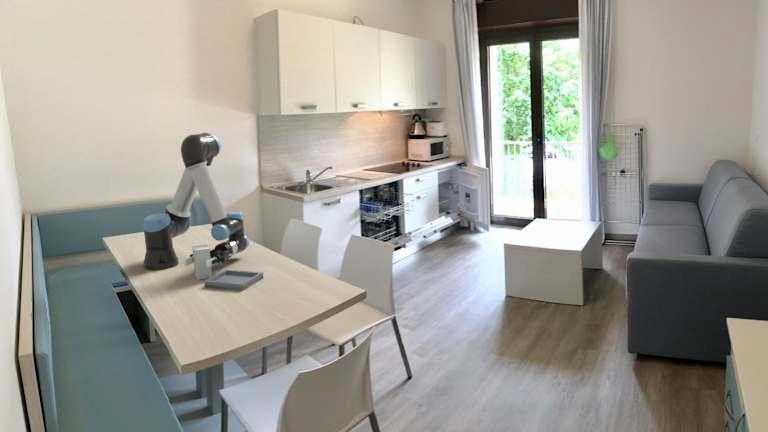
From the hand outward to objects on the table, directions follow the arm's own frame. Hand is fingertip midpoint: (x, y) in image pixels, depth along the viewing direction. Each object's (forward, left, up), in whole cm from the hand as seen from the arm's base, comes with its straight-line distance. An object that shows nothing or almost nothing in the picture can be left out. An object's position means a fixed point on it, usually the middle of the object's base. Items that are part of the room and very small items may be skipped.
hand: (195, 263), depth 236 cm
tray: (+18, 0, -7) cm, 19 cm away
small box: (0, +4, -7) cm, 8 cm away
